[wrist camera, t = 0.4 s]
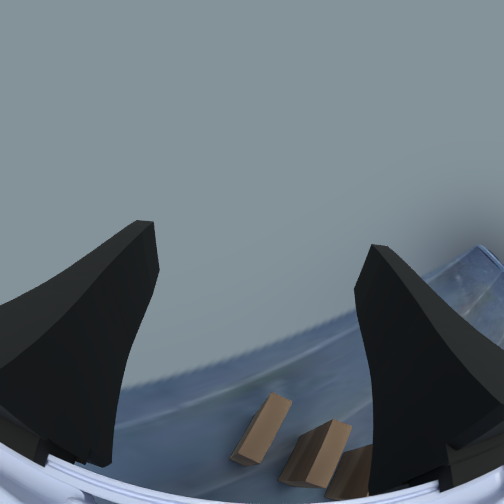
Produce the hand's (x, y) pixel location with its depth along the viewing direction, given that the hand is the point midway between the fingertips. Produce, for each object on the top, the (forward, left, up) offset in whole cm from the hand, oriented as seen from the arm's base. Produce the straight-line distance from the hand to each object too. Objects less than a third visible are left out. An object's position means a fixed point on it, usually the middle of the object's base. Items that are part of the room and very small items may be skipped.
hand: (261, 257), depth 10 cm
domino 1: (-3, -2, -21) cm, 21 cm away
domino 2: (-6, -6, -21) cm, 23 cm away
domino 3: (-8, -10, -21) cm, 25 cm away
